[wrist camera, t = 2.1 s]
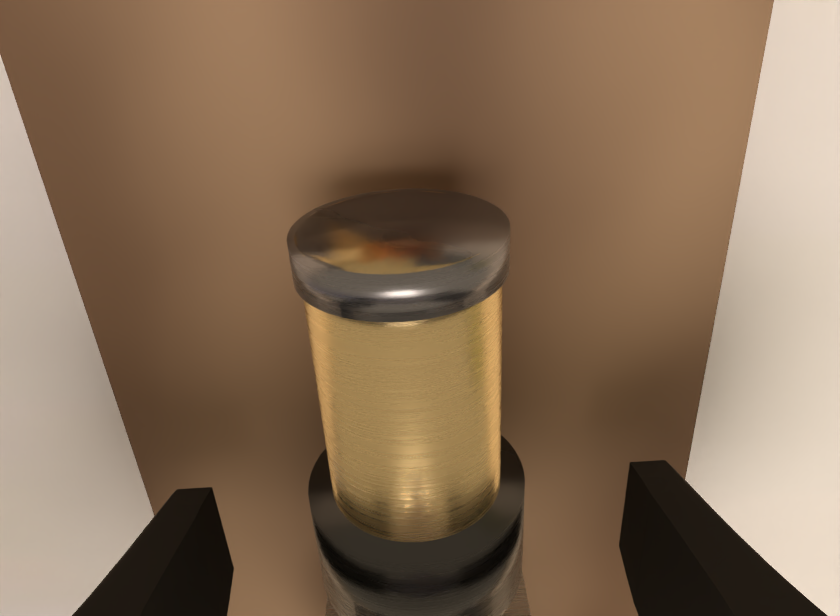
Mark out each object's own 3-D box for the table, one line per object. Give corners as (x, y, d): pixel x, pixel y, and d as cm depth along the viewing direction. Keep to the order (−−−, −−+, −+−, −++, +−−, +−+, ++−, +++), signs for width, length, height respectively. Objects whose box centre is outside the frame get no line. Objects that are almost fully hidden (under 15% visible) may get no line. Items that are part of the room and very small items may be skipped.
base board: (231, 688, 21) (223, 723, 20) (-253, -863, 7) (-341, -969, 6) (634, 662, 21) (644, 695, 20) (897, -922, 7) (966, -1035, 6)
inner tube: (370, 749, 19) (366, 916, 16) (282, 189, 11) (239, 299, 8) (502, 741, 19) (525, 906, 16) (511, 175, 11) (559, 280, 8)
